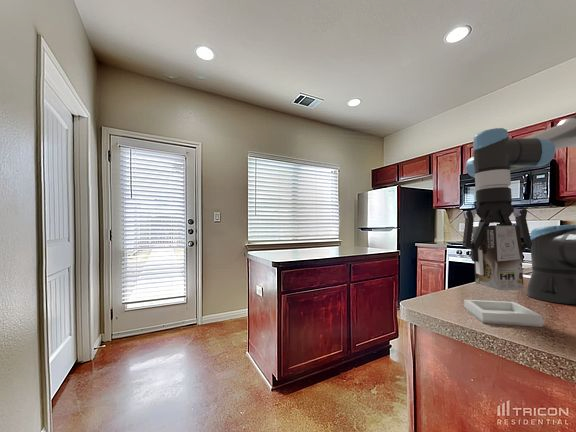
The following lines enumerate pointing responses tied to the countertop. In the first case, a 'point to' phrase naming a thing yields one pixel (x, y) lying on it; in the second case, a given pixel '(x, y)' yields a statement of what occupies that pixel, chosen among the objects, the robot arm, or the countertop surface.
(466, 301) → the shallow grey tray
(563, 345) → the countertop surface
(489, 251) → the printed cardboard box
